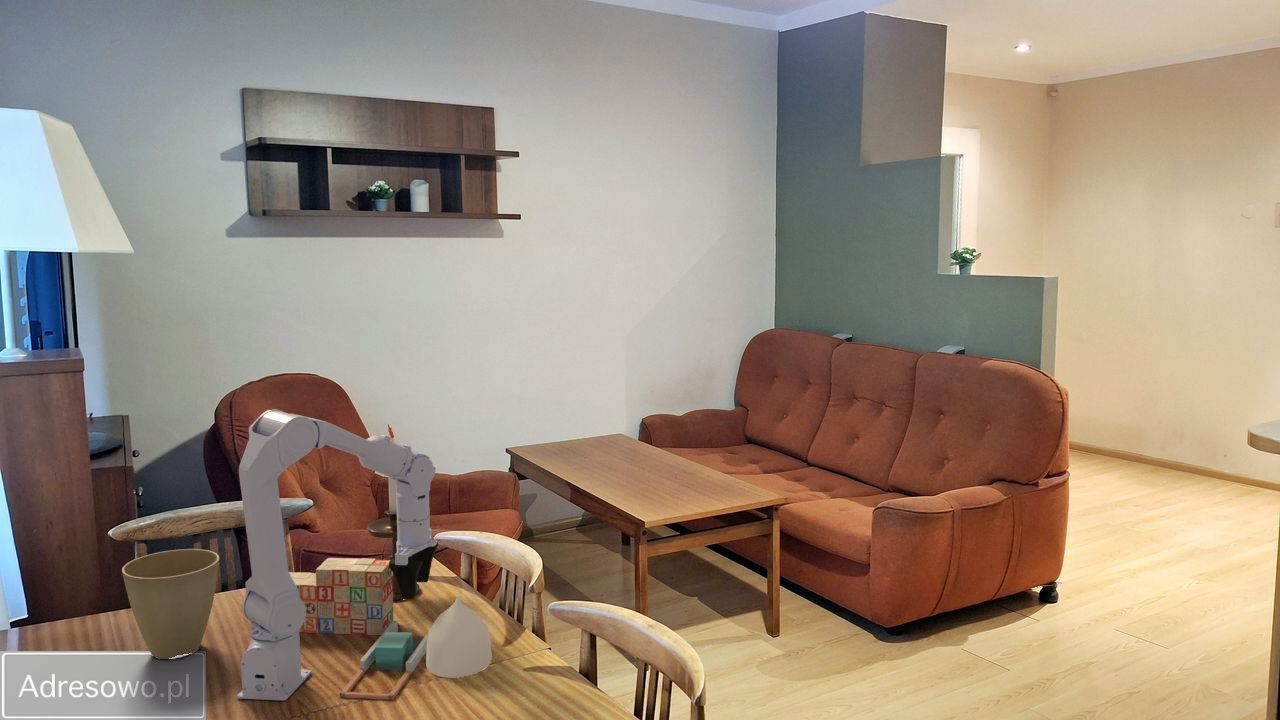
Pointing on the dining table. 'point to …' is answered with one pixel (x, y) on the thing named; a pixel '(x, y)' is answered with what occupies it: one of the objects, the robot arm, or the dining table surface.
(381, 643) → the block
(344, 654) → the dining table surface
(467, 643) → the teardrop
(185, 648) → the plant pot
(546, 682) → the dining table surface
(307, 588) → the stack of blocks
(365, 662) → the channel
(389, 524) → the candlestick
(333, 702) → the dining table surface
